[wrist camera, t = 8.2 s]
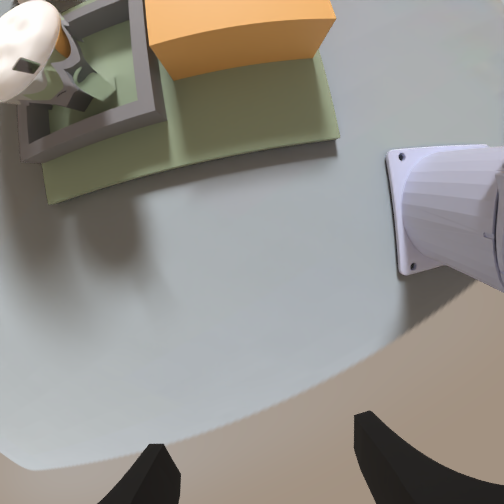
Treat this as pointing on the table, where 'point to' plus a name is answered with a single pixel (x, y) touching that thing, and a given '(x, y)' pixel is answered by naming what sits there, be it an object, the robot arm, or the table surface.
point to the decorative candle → (23, 1)
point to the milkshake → (50, 63)
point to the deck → (186, 89)
